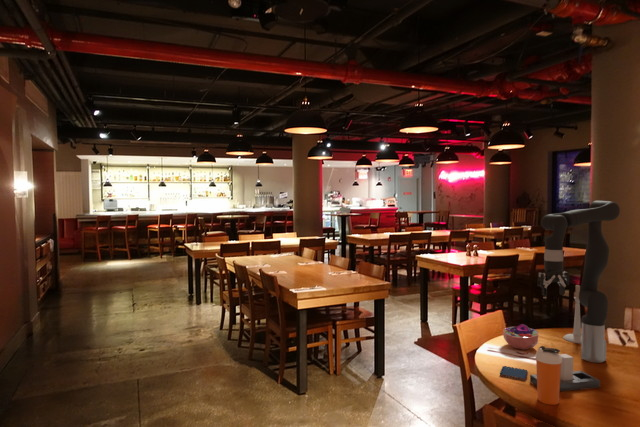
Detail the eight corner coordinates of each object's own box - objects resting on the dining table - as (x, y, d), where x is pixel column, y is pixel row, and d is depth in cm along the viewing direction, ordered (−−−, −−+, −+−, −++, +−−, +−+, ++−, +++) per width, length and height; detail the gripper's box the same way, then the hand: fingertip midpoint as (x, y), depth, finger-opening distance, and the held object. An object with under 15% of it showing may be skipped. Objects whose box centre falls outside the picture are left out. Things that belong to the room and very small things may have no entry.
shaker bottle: (560, 408, 158) (561, 354, 157) (533, 402, 162) (534, 349, 162) (562, 398, 165) (562, 347, 164) (536, 393, 170) (536, 343, 169)
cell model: (495, 348, 221) (495, 326, 220) (512, 339, 234) (512, 318, 234) (529, 356, 208) (529, 333, 208) (545, 347, 222) (545, 325, 221)
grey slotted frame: (580, 377, 184) (581, 370, 184) (599, 387, 174) (599, 380, 174) (530, 381, 180) (530, 374, 180) (546, 392, 170) (546, 385, 170)
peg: (565, 382, 180) (565, 353, 179) (572, 386, 176) (573, 357, 175) (557, 383, 179) (557, 354, 178) (564, 387, 175) (564, 358, 175)
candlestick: (590, 338, 235) (591, 283, 234) (591, 345, 224) (592, 287, 223) (563, 334, 241) (564, 281, 240) (563, 341, 230) (563, 285, 229)
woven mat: (526, 382, 180) (526, 378, 180) (499, 377, 186) (499, 373, 186) (528, 373, 190) (528, 369, 189) (502, 369, 195) (502, 364, 195)
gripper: (561, 257, 197) (561, 292, 198) (533, 258, 195) (533, 294, 195) (574, 260, 190) (573, 296, 190) (545, 261, 187) (544, 298, 188)
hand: (553, 295), depth 193 cm, fingers open, 8 cm apart
